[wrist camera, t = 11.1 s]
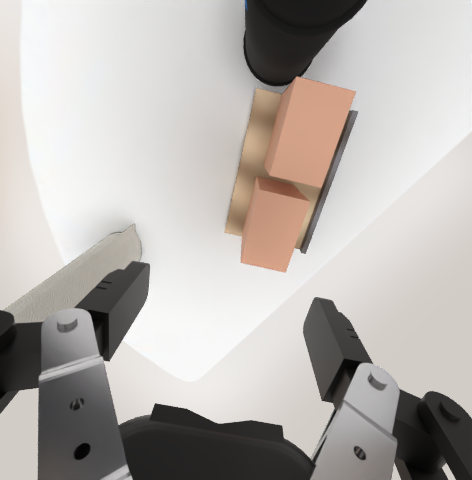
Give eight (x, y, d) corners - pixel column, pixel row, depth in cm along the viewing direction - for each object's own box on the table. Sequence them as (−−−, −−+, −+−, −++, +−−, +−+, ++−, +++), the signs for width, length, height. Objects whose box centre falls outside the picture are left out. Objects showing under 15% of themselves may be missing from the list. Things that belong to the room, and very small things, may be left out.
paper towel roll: (117, 271, 40) (-6, 399, 21) (96, 239, 38) (-64, 348, 19) (155, 256, 39) (62, 377, 19) (135, 222, 37) (7, 320, 17)
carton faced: (282, 94, 28) (296, 76, 20) (324, 105, 28) (356, 91, 20) (263, 165, 31) (269, 175, 23) (302, 174, 31) (321, 188, 23)
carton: (256, 176, 32) (259, 189, 23) (294, 185, 32) (311, 201, 24) (242, 232, 35) (240, 262, 26) (276, 240, 35) (286, 272, 27)
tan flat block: (255, 91, 30) (256, 85, 27) (348, 114, 30) (359, 111, 27) (225, 227, 37) (223, 235, 34) (301, 244, 37) (306, 254, 34)
